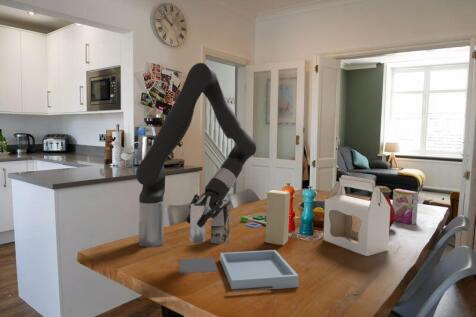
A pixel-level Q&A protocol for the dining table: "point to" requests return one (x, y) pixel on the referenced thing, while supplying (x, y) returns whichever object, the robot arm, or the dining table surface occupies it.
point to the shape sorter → (256, 219)
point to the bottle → (386, 193)
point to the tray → (258, 270)
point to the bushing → (195, 231)
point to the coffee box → (221, 225)
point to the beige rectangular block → (277, 217)
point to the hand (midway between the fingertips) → (193, 223)
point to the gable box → (370, 212)
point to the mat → (197, 265)
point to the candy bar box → (405, 206)
